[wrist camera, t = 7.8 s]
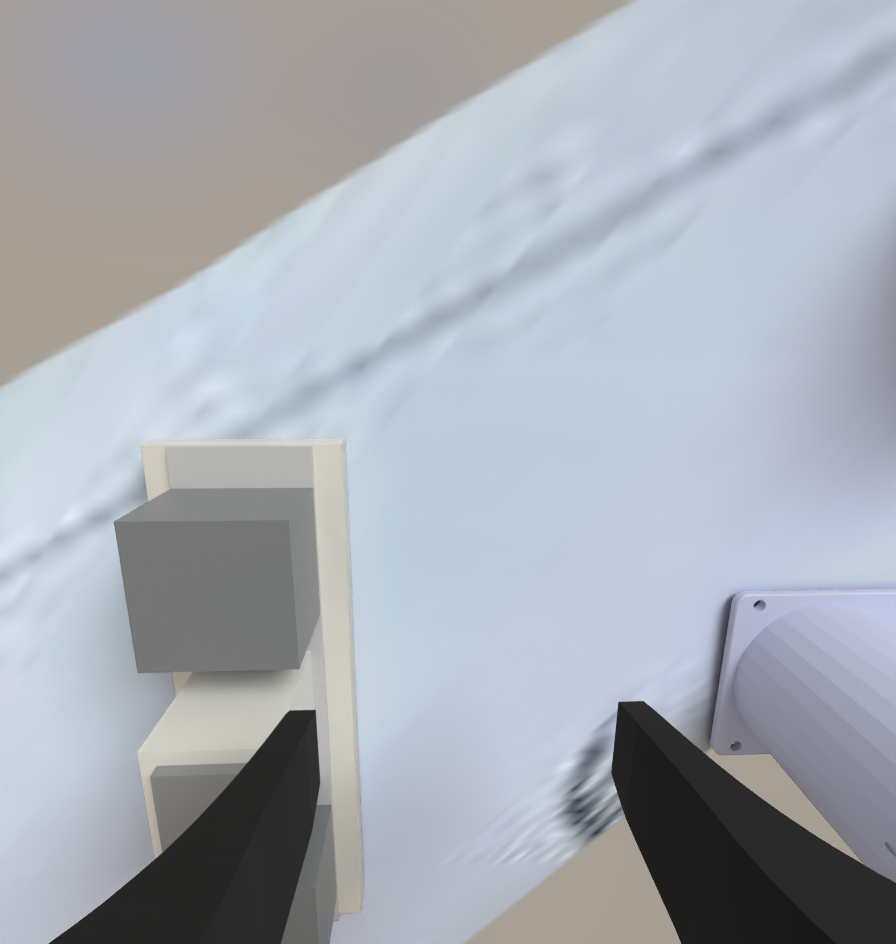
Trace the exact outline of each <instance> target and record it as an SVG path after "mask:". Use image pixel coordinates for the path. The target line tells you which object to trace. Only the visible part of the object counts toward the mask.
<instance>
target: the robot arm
mask: <svg viewBox="0 0 896 944" xmlns="http://www.w3.org/2000/svg"><path fill="white" fill-rule="evenodd" d="M758 600H760V602H759V604H758V605H757V606H754V604H755V602H757V601H758ZM733 742H735V743H734V744H732V743H733ZM710 745H711V746H712V748H713V749H714V751H715V752H716V753H717V754H719V755H744V754H745V755H746V754H771V755H772V756H773V758H774V759H775V760H776V761H777V762H778V763H779V765H780V766H781V767H782V768H783V769H784V770H785V772H786V773H787V774H788V775H789V776H790V778H791V779H792V780H793V781H794V782H795V784H796V785H797V786H798V787H799V788H800V789H801V791H802V792H803V793H804V794H805V795H806V797H807V798H808V799H809V800H810V801H811V803H812V804H813V805H814V806H815V807H816V809H817V810H818V811H819V812H820V813H821V814H822V815H823V817H824V818H825V819H826V820H827V822H828V823H829V824H830V825H831V826H832V828H833V829H834V830H835V831H836V832H837V833H838V835H839V836H840V837H841V838H842V839H843V841H844V842H845V843H846V844H847V845H848V846H849V848H850V849H851V850H852V851H853V852H854V854H855V855H856V856H857V857H858V858H859V860H860V861H861V862H862V863H863V864H864V865H863V864H862V863H860V862H858V861H856V860H855V859H853V858H851V857H850V856H848V855H846V854H844V853H843V852H841V851H840V850H838V849H836V848H834V847H833V846H831V845H830V844H828V843H826V842H825V841H823V840H822V839H820V838H818V837H817V836H815V835H814V834H812V833H811V832H809V831H808V830H806V829H805V828H803V827H802V826H800V825H799V824H797V823H796V822H794V821H792V820H791V819H790V818H788V817H787V816H785V815H784V814H782V813H781V812H780V811H778V810H777V809H775V808H774V807H773V806H771V805H770V804H768V803H767V802H766V801H764V800H763V799H761V798H760V797H759V796H757V795H756V794H755V793H754V792H752V791H751V790H750V789H748V788H747V787H746V786H744V785H743V784H742V783H740V782H739V781H738V780H736V779H735V778H734V777H733V776H731V775H730V774H729V773H728V772H726V771H725V770H724V769H723V768H721V767H720V766H719V765H718V764H716V763H715V762H714V761H713V760H712V759H710V758H709V757H708V756H707V755H706V754H704V753H703V752H702V751H701V750H700V749H699V748H697V747H696V746H695V745H694V744H693V743H691V742H690V741H689V740H688V739H687V738H686V737H685V736H683V735H682V734H681V733H680V732H679V731H678V730H676V729H675V728H674V727H673V726H672V725H671V724H670V723H668V722H667V721H666V720H665V719H664V718H663V717H662V716H660V715H659V714H658V713H657V712H656V711H655V710H653V709H652V708H651V707H650V706H649V705H647V704H646V703H645V702H644V701H635V702H619V703H618V713H617V723H616V732H615V742H614V752H613V762H612V772H611V773H612V776H613V780H614V783H615V786H616V789H617V793H618V796H619V799H620V802H621V805H622V808H623V811H624V814H625V817H626V820H627V822H628V824H629V827H630V829H631V831H632V833H633V836H634V838H635V840H636V843H637V845H638V847H639V849H640V851H641V854H642V856H643V858H644V860H645V863H646V865H647V867H648V869H649V872H650V874H651V876H652V878H653V880H654V883H655V885H656V887H657V889H658V891H659V894H660V896H661V898H662V900H663V903H664V905H665V907H666V909H667V911H668V914H669V916H670V918H671V920H672V922H673V925H674V927H675V929H676V932H677V934H678V937H679V939H680V941H681V944H896V589H848V590H785V591H743V592H740V593H738V594H736V595H735V596H734V598H733V600H732V603H731V610H730V616H729V623H728V629H727V636H726V642H725V649H724V655H723V662H722V668H721V675H720V681H719V688H718V694H717V701H716V707H715V714H714V720H713V727H712V733H711V739H710ZM319 788H320V768H319V753H318V737H317V721H316V710H289V711H288V712H287V713H286V714H285V715H284V717H283V718H282V719H281V721H280V722H279V723H278V725H277V726H276V727H275V728H274V730H273V731H272V732H271V734H270V735H269V736H268V738H267V739H266V740H265V741H264V743H263V744H262V745H261V746H260V748H259V749H258V750H257V751H256V753H255V754H254V755H253V756H252V758H251V759H250V760H249V761H248V762H247V764H246V765H245V766H244V767H243V768H242V769H241V771H240V772H239V773H238V774H237V775H236V777H235V778H234V779H233V780H232V781H231V782H230V784H229V785H228V786H227V787H226V788H225V789H224V790H223V791H222V792H221V794H220V795H219V796H218V797H217V798H216V799H215V800H214V801H213V802H212V803H211V804H210V805H209V807H208V808H207V809H206V810H205V811H204V812H203V813H202V814H201V815H200V816H199V817H198V818H197V819H196V820H195V821H194V822H193V823H192V824H191V825H190V826H189V827H188V828H187V829H186V830H185V831H184V832H183V833H182V834H181V835H180V836H179V837H178V838H177V839H176V840H175V841H174V842H173V843H172V844H171V845H170V846H169V847H168V848H167V849H166V850H165V851H163V852H162V853H161V854H160V855H159V856H158V857H157V858H156V859H155V860H154V861H152V862H151V863H150V864H149V865H148V866H147V867H146V868H144V869H143V870H142V871H141V872H140V873H139V874H138V875H136V876H135V877H134V878H133V879H132V880H130V881H129V882H128V883H127V884H126V885H124V886H123V887H122V888H121V889H120V890H118V891H117V892H116V893H115V894H114V895H112V896H111V897H110V898H109V899H108V900H106V901H105V902H104V903H102V904H101V905H100V906H99V907H97V908H96V909H95V910H93V911H92V912H91V913H89V914H88V915H87V916H86V917H84V918H83V919H82V920H80V921H79V922H78V923H76V924H75V925H74V926H72V927H71V928H69V929H68V930H67V931H65V932H64V933H63V934H61V935H60V936H58V937H57V938H56V939H54V940H53V941H52V942H50V943H49V944H281V941H282V938H283V934H284V931H285V927H286V923H287V920H288V916H289V913H290V909H291V906H292V902H293V898H294V895H295V891H296V888H297V884H298V881H299V877H300V873H301V870H302V866H303V863H304V859H305V855H306V852H307V848H308V844H309V841H310V837H311V833H312V829H313V823H314V818H315V812H316V806H317V800H318V794H319Z"/></svg>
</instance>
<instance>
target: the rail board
mask: <svg viewBox="0 0 896 944" xmlns="http://www.w3.org/2000/svg"><path fill="white" fill-rule="evenodd" d="M140 446H141V453H142V460H143V468H144V475H145V482H146V489H147V496H148V502H147V503H145V504H143V505H142V506H140V507H138V508H137V509H135V510H133V511H131V512H130V513H128V514H126V515H125V516H123V517H121V518H119V519H118V520H116V521H114V526H115V532H116V538H117V545H118V551H119V557H120V564H121V570H122V576H123V583H124V589H125V595H126V602H127V608H128V614H129V621H130V627H131V633H132V640H133V646H134V652H135V659H136V665H137V671H138V673H154V672H172V675H173V682H174V690H175V697H176V696H177V694H178V693H179V691H180V690H181V688H182V687H183V685H184V684H185V683H186V681H187V680H188V678H189V677H190V675H191V674H192V673H193V672H199V671H244V670H289V669H300V666H301V664H302V661H303V658H304V656H305V653H306V651H311V663H312V678H313V693H314V708H315V710H316V721H317V737H318V753H319V768H320V788H319V794H318V800H317V806H316V812H315V818H314V823H313V829H312V833H311V837H310V841H309V844H308V848H307V852H306V855H305V859H304V863H303V866H302V870H301V873H300V877H299V881H298V884H297V888H296V891H295V895H294V898H293V902H292V906H291V909H290V913H289V916H288V920H287V923H286V927H285V931H284V934H283V938H282V941H281V944H329V943H330V936H331V930H332V924H333V921H338V920H339V914H343V913H361V910H362V901H363V892H364V873H363V849H362V825H361V801H360V777H359V753H358V729H357V705H356V681H355V657H354V633H353V609H352V585H351V561H350V537H349V513H348V489H347V465H346V441H345V439H157V440H154V441H151V442H149V443H146V444H143V445H140Z"/></svg>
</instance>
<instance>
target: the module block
mask: <svg viewBox="0 0 896 944" xmlns="http://www.w3.org/2000/svg"><path fill="white" fill-rule="evenodd" d="M289 710H315V708H314V693H313V678H312V663H311V651H306V653H305V656H304V658H303V661H302V664H301V666H300V669H289V670H244V671H199V672H193V673H192V674H191V675H190V677H189V678H188V680H187V681H186V683H185V684H184V685H183V687H182V688H181V690H180V691H179V693H178V694H177V696H176V697H175V698H174V700H173V701H172V703H171V704H170V706H169V707H168V708H167V710H166V711H165V713H164V714H163V716H162V717H161V719H160V720H159V721H158V723H157V724H156V726H155V727H154V729H153V730H152V731H151V733H150V734H149V736H148V737H147V739H146V740H145V742H144V743H143V744H142V746H141V747H140V749H139V750H138V752H137V755H138V761H139V767H140V773H141V779H142V785H143V791H144V797H145V803H146V809H147V815H148V820H149V826H150V832H151V838H152V844H153V850H154V856H155V859H156V858H157V857H158V856H159V855H160V854H161V853H162V852H163V851H165V850H166V849H167V848H168V847H169V846H170V845H171V844H172V843H173V842H174V841H175V840H176V839H177V838H178V837H179V836H180V835H181V834H182V833H183V832H184V831H185V830H186V829H187V828H188V827H189V826H190V825H191V824H192V823H193V822H194V821H195V820H196V819H197V818H198V817H199V816H200V815H201V814H202V813H203V812H204V811H205V810H206V809H207V808H208V807H209V805H210V804H211V803H212V802H213V801H214V800H215V799H216V798H217V797H218V796H219V795H220V794H221V792H222V791H223V790H224V789H225V788H226V787H227V786H228V785H229V784H230V782H231V781H232V780H233V779H234V778H235V777H236V775H237V774H238V773H239V772H240V771H241V769H242V768H243V767H244V766H245V765H246V764H247V762H248V761H249V760H250V759H251V758H252V756H253V755H254V754H255V753H256V751H257V750H258V749H259V748H260V746H261V745H262V744H263V743H264V741H265V740H266V739H267V738H268V736H269V735H270V734H271V732H272V731H273V730H274V728H275V727H276V726H277V725H278V723H279V722H280V721H281V719H282V718H283V717H284V715H285V714H286V713H287V712H288V711H289Z"/></svg>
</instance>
